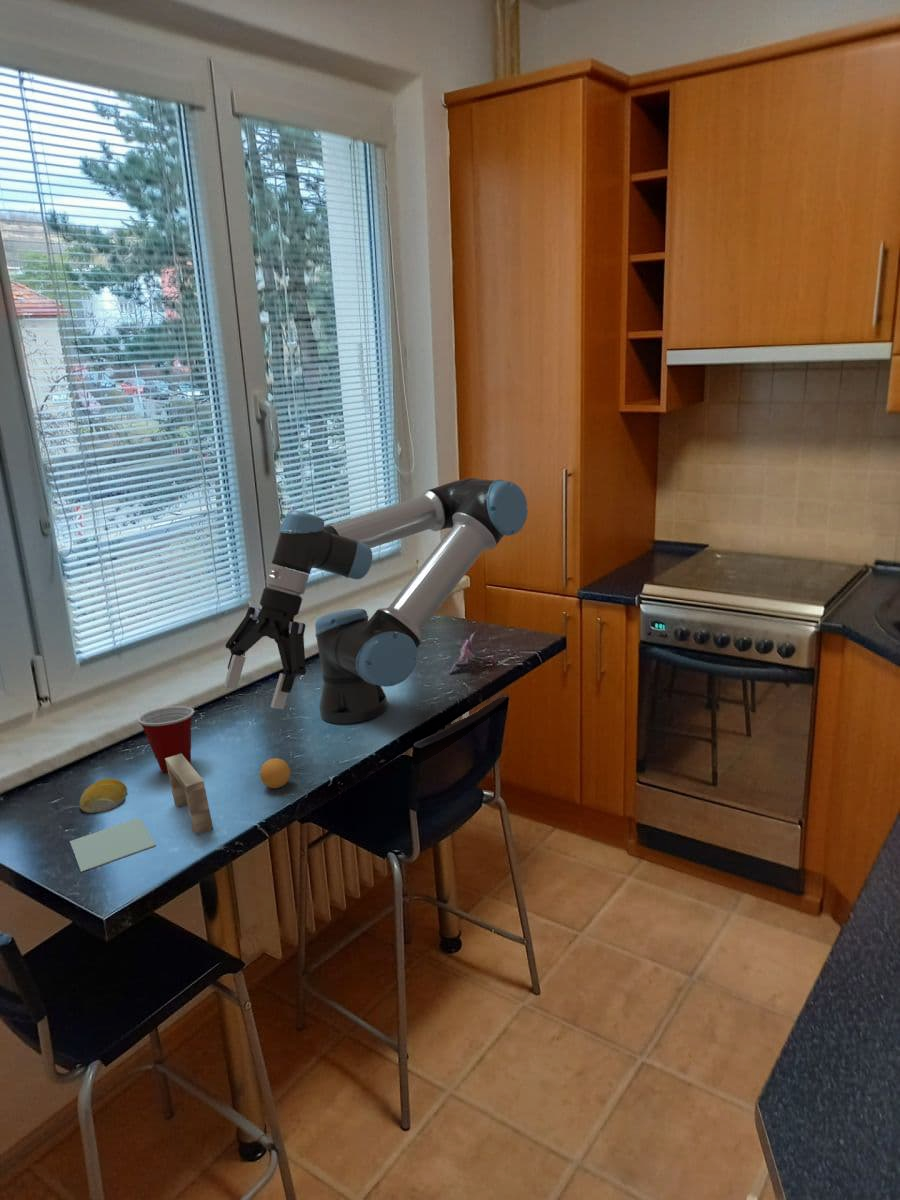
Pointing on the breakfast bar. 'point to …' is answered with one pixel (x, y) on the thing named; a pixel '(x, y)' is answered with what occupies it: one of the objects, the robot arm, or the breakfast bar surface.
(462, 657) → the lily
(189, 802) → the bridge
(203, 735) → the breakfast bar surface
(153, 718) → the plastic cup
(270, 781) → the ball
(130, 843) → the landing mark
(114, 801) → the yellow bowl
